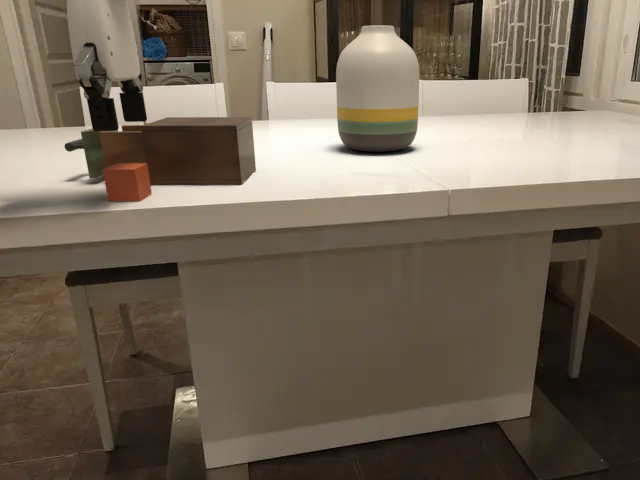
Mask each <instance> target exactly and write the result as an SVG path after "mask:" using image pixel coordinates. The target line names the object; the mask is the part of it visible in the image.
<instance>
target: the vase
mask: <svg viewBox="0 0 640 480" xmlns="http://www.w3.org/2000/svg"><path fill="white" fill-rule="evenodd" d="M335 70H336V71H335V85H336V90H335V91H336V118H337V119H336V121H337V132H338V136H339V138H340V140H341V143H342V144H343V145H344V146H346V147H347V148H348V149H351V150H354V151H360V152H371V153H380V152H381V153H384V152H394V151H401V150H403V149H406V148H408V147H409V146H411V144H413V142H414V140H415V139H416V137H417V136H416V135H417V131H418V125H419V103H420V101H419V100H420V64H419V61H418V57H417V54H416V52H415V51H414V50H413V48H412V47H411V46H410V45H409V44H408V43H407V42H405V41H404V40H403V39H402V38H401V37H399V36H398V34H397V33H396V31H395V26H394V25H362V26H361V29H360V33H359V34H358V36H356V37H355V38H354V39H353V40H352V41H351V42H349V43H348V44H347V45H346V46H345V47H344V48H343V50H342V51H341V52H340V54H339V57H338V59H337V62H336V69H335Z"/></svg>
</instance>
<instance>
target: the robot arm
mask: <svg viewBox="0 0 640 480" xmlns="http://www.w3.org/2000/svg"><path fill="white" fill-rule="evenodd" d="M127 1H128V0H66V15H67V25H68V26H67V27H68V35H69V43H70V49H71V55H72V62H73V66H74V73H75V76H76V78H77V79H78V80H79V81H78V83H79V85H80V86H81V88H82V89H83V96H84V98H85V99H86V102H87V108H88V113H89V117H90V123H91V129H92V128H93V130H94V131H116V130H118V131H119V128H120V125H119V121H118V117H117V109H116V104H115V99H114V97H110V96H111V91H112V85H113V82H116V83H117V85H118V87H119V88H120V91H121V92H119V93H118V94H119V100H120V106H121V110H122V111H121V112H122V116H123V121H124V122H126V123H139V122H142V123H144V121H146V122H147V120H148V117H147V115H148V114H147V110H146V103H145V97H144V92H143V91H144V86H143V84H142V80H143V75H142V73H141V66H142V65H141V64H142V63H141V59H140V57H139V51H138V45H137V40H136V36H135V31H134V26H133V25H134V24H133V21H132V17H131V14H130V8H129V5H128V2H127Z"/></svg>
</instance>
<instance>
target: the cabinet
mask: <svg viewBox="0 0 640 480" xmlns="http://www.w3.org/2000/svg"><path fill="white" fill-rule="evenodd" d="M147 123H148V124H147ZM147 123H146V124H145V125H144V124H141V125H142V126H141V129H142V136H143V142H144V149H145V156H146V162H147V166H148V173H149V179H150V186H155V185H156V186H159V185H160V186H162V185H163V186H164V185H165V186H166V185H168V186H169V185H170V186H172V185H173V186H176V185H177V186H179V185H180V186H181V185H186V186H188V185H189V186H190V185H191V186H193V185H194V186H195V185H196V186H197V185H202V186H203V185H206V186H207V185H208V186H210V185H211V186H212V185H215V186H216V185H222V186H224V185H225V186H226V185H227V186H229V185H235V186H236V185H237V186H238V185H240V186H241V185H243V184H244V183H245V182H246V181H247V179H248V178H250V177H251V176H252V175H253V173H255V172H256V170H257V167H256V154H255V143H254V142H255V141H254V128H253V127H254V126H253V117H252V116H203V117H202V116H197V117H196V116H194V117H193V116H190V117H189V116H186V117H185V116H183V117H182V116H181V117H180V116H179V117H177V116H176V117H175V116H172V117H170V116H169V117H168V116H167V117H164V118H161V119H158V120H154V121H152V122H147Z"/></svg>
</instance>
